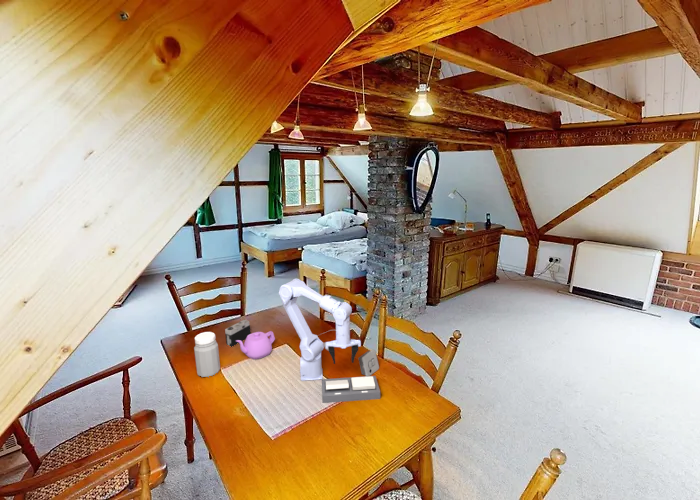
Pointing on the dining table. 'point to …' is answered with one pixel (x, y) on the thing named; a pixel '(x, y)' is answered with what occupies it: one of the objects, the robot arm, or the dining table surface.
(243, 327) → the camera
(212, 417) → the dining table surface
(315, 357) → the robot arm
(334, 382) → the left paddle
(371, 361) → the electrical switch
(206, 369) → the jar
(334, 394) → the switch box
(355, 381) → the right paddle
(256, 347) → the teapot
